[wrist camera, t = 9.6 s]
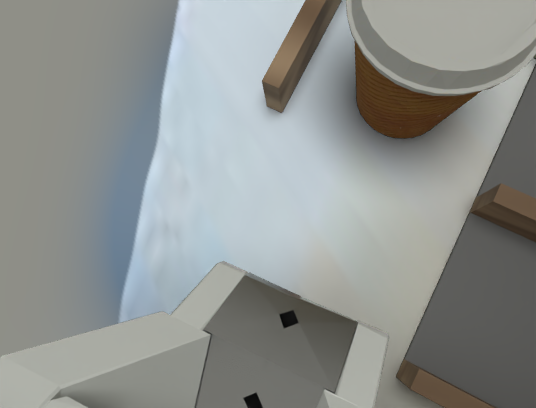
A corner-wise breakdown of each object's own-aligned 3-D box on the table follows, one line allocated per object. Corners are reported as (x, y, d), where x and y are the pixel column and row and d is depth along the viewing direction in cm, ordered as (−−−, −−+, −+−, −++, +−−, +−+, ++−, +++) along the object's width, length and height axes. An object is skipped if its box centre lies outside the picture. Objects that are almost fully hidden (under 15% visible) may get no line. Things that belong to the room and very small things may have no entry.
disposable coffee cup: (353, 175, 32) (381, 105, 20) (318, 53, 34) (326, -77, 22) (489, 142, 31) (600, 50, 20) (446, 20, 33) (524, -129, 22)
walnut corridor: (583, 475, 27) (630, 506, 23) (182, 263, 31) (165, 258, 27) (719, 112, 30) (780, 85, 27) (341, -34, 35) (346, -75, 31)
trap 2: (570, 445, 27) (573, 447, 27) (404, 358, 29) (405, 359, 29) (630, 287, 29) (634, 287, 29) (469, 213, 30) (470, 212, 30)
